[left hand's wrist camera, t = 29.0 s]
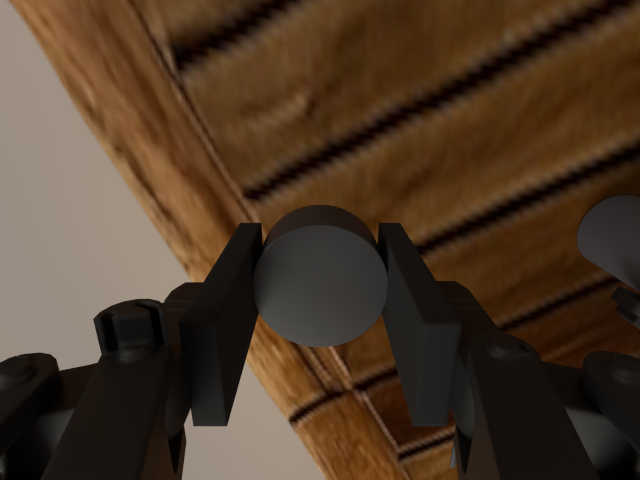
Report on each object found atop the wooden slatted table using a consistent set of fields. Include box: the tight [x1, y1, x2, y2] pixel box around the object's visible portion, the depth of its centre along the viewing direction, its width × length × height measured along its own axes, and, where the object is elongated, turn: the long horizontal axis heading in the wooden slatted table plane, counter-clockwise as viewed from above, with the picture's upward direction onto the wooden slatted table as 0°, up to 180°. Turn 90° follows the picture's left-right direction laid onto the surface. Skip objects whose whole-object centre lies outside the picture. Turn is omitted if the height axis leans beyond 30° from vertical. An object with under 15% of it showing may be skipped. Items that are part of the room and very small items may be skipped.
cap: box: [252, 205, 388, 347], centre depth 13 cm, size 4×4×2 cm
